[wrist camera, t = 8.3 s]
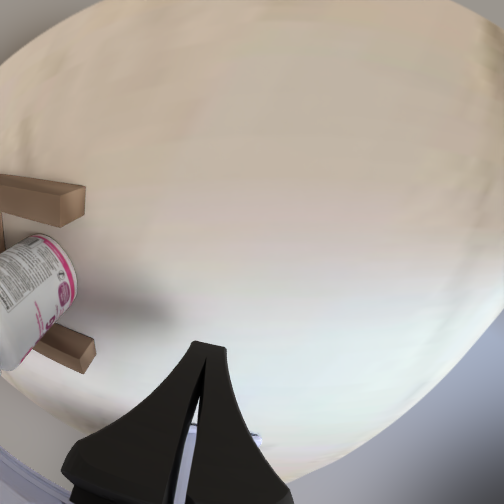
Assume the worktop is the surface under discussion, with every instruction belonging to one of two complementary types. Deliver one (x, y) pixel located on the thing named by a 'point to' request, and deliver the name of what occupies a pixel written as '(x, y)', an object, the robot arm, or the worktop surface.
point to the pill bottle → (32, 295)
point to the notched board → (55, 214)
